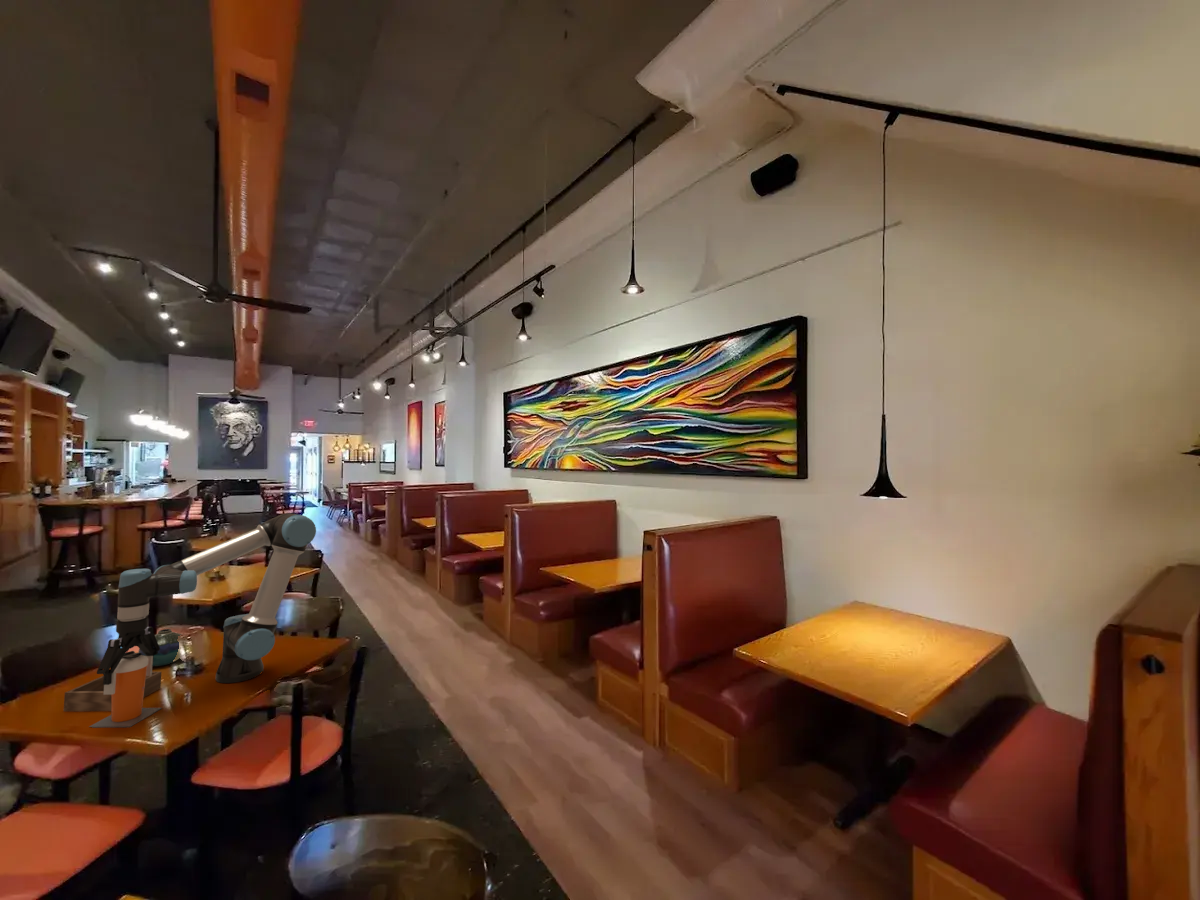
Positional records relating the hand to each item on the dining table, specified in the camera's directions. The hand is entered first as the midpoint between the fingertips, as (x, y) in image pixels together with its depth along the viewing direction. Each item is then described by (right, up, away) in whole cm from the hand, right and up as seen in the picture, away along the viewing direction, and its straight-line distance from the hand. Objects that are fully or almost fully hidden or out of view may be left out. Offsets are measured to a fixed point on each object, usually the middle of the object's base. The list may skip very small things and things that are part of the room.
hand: (128, 684), depth 160 cm
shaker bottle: (0, -10, 0) cm, 10 cm away
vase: (-27, -12, +43) cm, 52 cm away
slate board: (0, -11, 0) cm, 10 cm away
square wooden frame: (-16, -11, +12) cm, 22 cm away
